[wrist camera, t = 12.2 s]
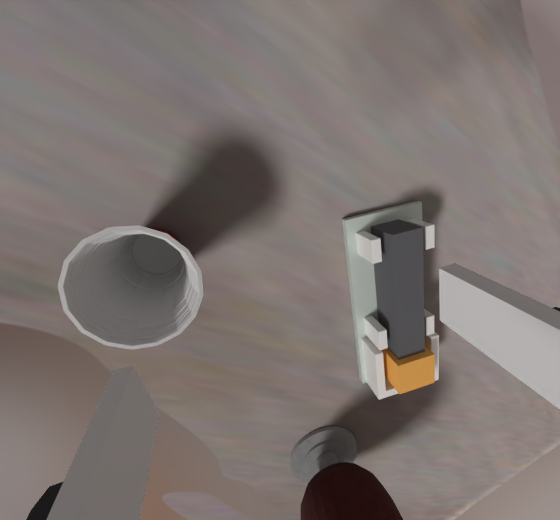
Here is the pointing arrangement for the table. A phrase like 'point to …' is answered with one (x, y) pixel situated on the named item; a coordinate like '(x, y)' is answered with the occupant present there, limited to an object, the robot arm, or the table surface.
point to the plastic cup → (131, 286)
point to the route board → (360, 266)
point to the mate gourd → (338, 479)
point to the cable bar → (403, 305)
